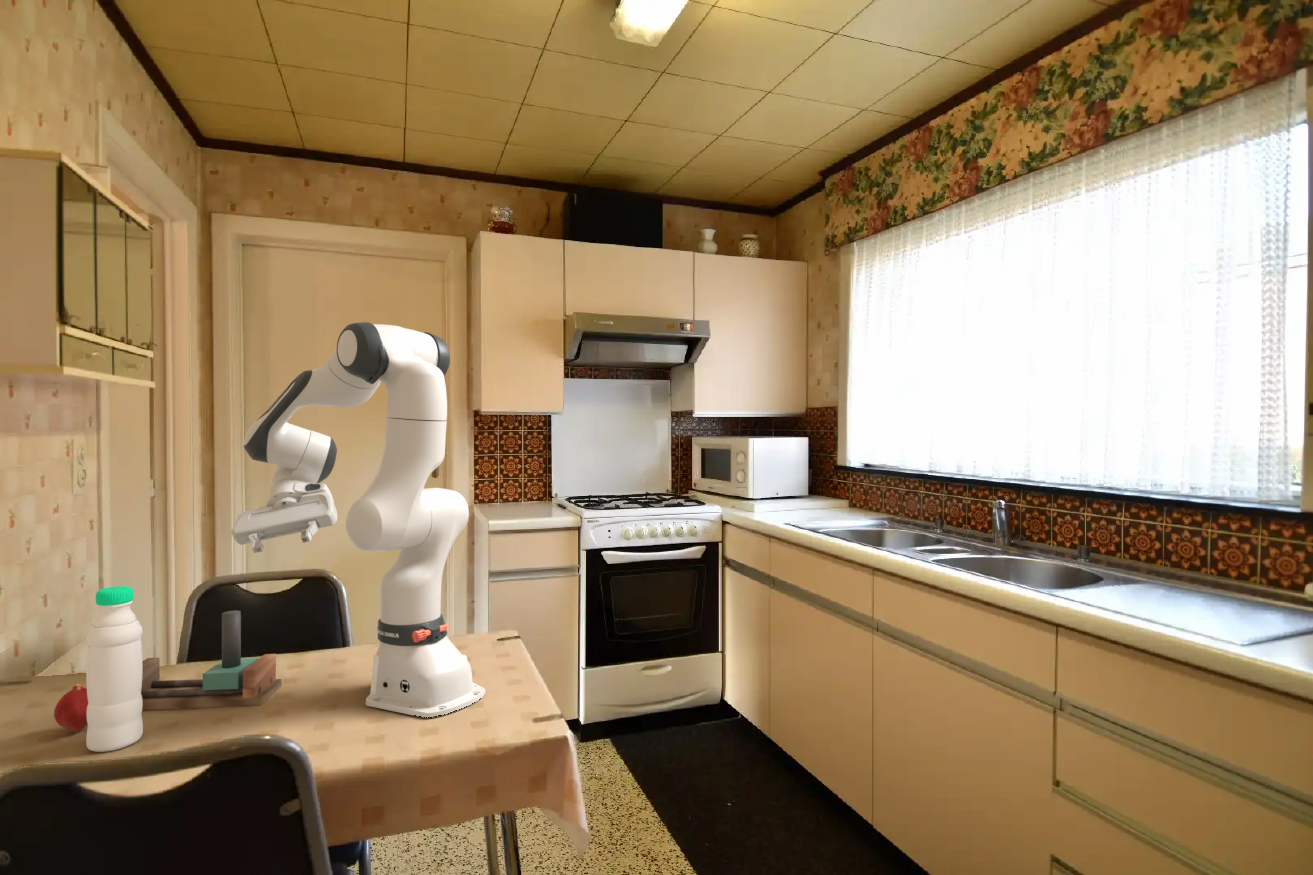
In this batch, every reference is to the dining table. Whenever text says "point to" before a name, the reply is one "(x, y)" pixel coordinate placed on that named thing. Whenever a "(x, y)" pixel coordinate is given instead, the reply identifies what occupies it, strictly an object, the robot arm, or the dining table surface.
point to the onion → (72, 709)
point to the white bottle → (114, 673)
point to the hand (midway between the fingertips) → (281, 545)
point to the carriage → (228, 657)
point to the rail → (191, 694)
